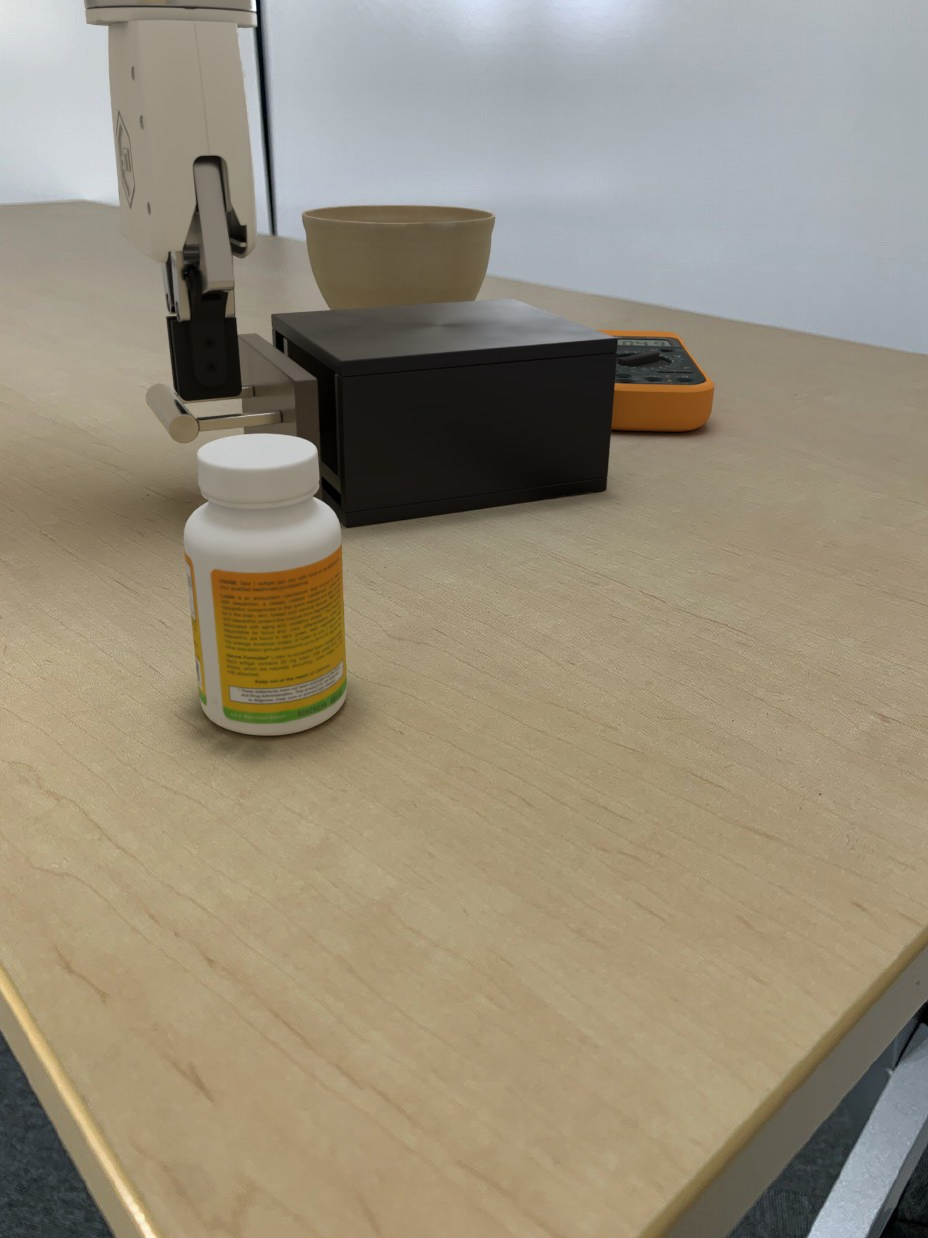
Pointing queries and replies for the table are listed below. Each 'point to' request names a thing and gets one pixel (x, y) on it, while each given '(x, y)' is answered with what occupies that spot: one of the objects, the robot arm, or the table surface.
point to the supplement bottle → (265, 587)
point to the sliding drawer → (269, 402)
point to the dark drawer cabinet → (460, 405)
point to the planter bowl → (397, 253)
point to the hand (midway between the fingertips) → (208, 394)
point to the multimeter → (658, 384)
